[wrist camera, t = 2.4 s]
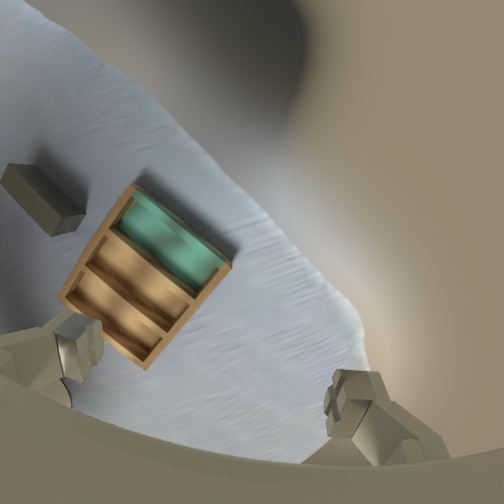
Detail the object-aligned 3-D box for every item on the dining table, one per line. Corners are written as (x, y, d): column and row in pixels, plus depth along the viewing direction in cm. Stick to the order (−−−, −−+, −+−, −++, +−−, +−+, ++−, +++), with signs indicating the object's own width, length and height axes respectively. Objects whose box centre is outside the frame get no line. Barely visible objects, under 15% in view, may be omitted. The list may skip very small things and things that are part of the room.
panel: (86, 213, 40) (62, 217, 33) (75, 230, 40) (51, 237, 33) (36, 165, 38) (9, 163, 31) (26, 182, 38) (-1, 182, 32)
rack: (232, 261, 42) (232, 268, 38) (151, 357, 44) (145, 370, 40) (139, 184, 40) (130, 184, 36) (69, 289, 42) (56, 297, 38)
